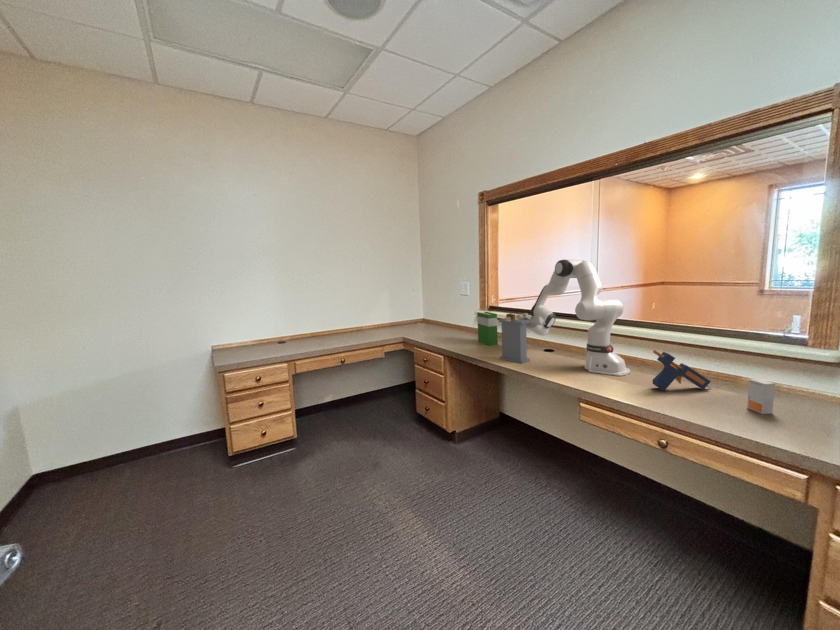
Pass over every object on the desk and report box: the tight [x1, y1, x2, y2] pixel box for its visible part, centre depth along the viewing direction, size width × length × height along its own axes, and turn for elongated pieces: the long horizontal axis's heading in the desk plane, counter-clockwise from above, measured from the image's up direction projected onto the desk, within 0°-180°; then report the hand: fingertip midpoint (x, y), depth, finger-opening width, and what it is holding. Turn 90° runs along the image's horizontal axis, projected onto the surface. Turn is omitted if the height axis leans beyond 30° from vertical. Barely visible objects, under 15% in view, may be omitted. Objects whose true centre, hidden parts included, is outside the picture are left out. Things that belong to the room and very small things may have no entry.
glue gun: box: [652, 349, 712, 392], centre depth 157 cm, size 6×31×15 cm
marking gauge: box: [505, 312, 529, 321], centre depth 219 cm, size 20×5×5 cm, turn 129°
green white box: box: [476, 311, 499, 347], centre depth 269 cm, size 18×7×24 cm, turn 18°
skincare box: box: [746, 377, 776, 415], centre depth 131 cm, size 6×4×12 cm
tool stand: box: [498, 317, 531, 364], centre depth 219 cm, size 17×8×26 cm, turn 39°
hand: (522, 315), depth 222 cm, fingers closed on marking gauge, 2 cm apart
